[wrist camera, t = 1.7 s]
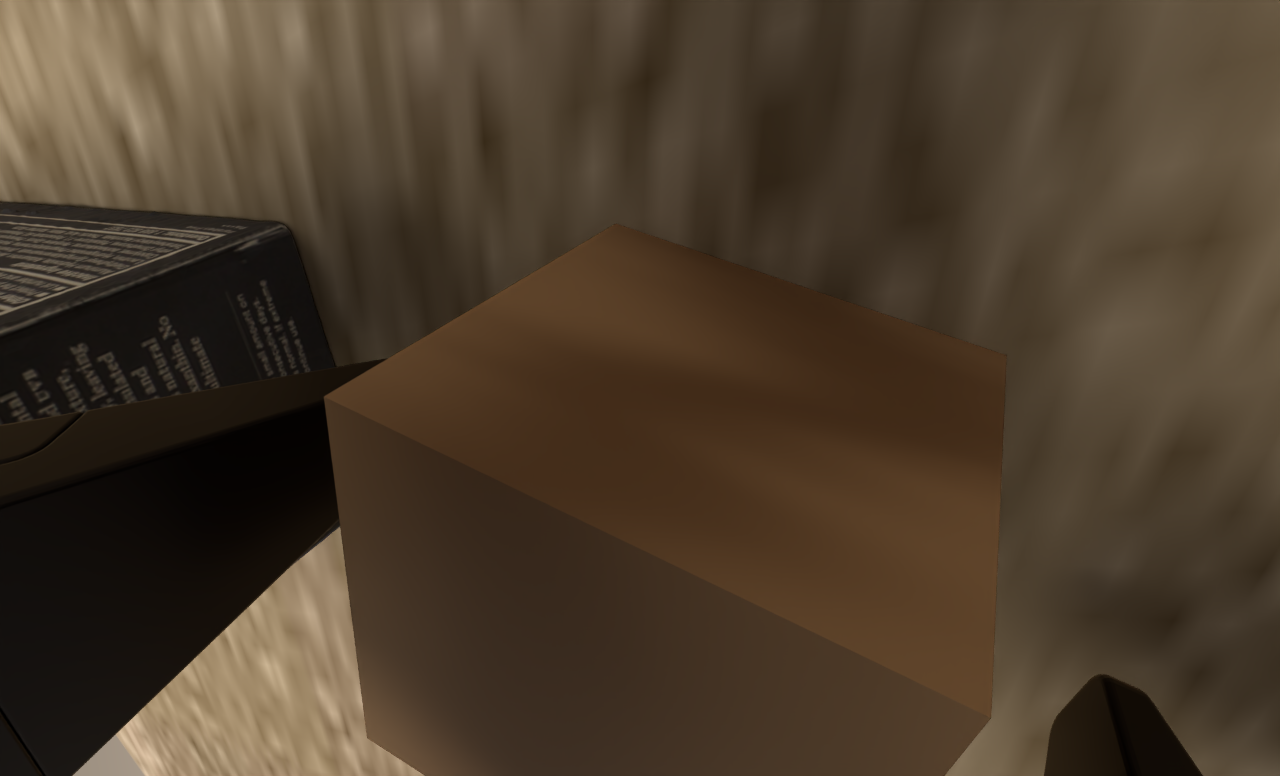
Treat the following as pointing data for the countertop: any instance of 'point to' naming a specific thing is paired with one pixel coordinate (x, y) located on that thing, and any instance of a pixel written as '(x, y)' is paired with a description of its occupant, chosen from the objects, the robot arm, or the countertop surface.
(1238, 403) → the countertop surface
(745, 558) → the block
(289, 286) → the small box
